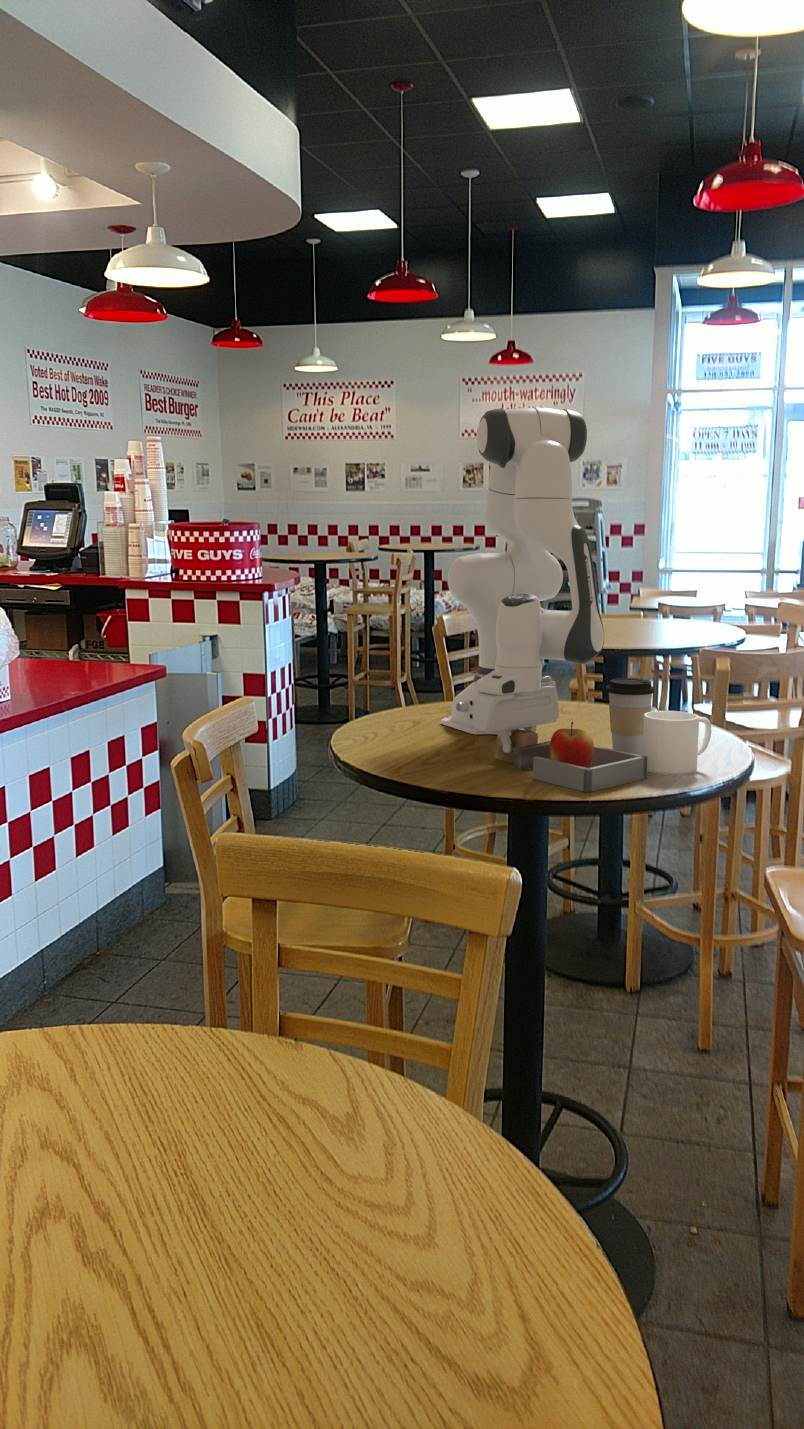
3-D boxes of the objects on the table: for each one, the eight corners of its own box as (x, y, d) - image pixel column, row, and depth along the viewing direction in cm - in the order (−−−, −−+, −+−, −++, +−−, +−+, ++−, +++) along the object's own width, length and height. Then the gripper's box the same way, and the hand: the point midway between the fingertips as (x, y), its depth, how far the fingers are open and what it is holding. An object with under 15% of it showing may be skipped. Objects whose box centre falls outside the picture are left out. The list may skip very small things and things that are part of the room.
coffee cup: (652, 762, 206) (655, 685, 203) (603, 760, 208) (605, 684, 205) (651, 751, 215) (654, 678, 212) (604, 749, 217) (606, 676, 214)
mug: (650, 776, 195) (652, 721, 193) (635, 763, 205) (637, 711, 203) (717, 775, 196) (720, 720, 194) (700, 762, 206) (702, 710, 204)
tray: (532, 778, 193) (533, 757, 193) (591, 765, 203) (592, 745, 202) (587, 792, 183) (588, 770, 183) (646, 778, 193) (647, 756, 193)
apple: (594, 770, 200) (595, 717, 198) (592, 780, 192) (593, 726, 190) (551, 768, 201) (552, 716, 200) (547, 778, 194) (548, 724, 192)
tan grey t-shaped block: (483, 761, 207) (484, 731, 206) (520, 754, 214) (520, 724, 212) (520, 770, 200) (521, 739, 199) (557, 762, 206) (558, 732, 205)
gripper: (543, 672, 213) (542, 740, 216) (468, 683, 201) (467, 755, 203) (567, 676, 209) (565, 745, 211) (491, 687, 196) (491, 760, 198)
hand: (517, 750), depth 207 cm, fingers open, 3 cm apart
